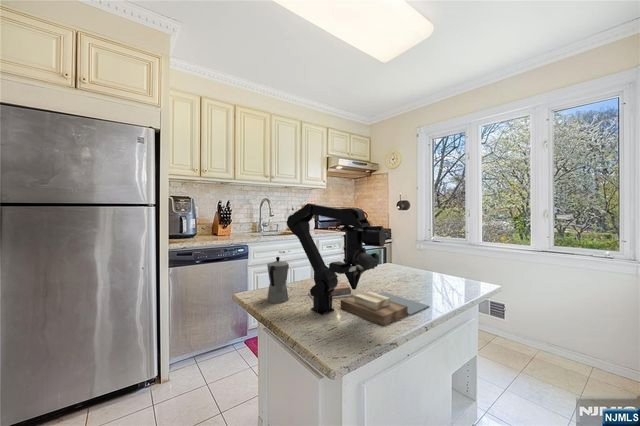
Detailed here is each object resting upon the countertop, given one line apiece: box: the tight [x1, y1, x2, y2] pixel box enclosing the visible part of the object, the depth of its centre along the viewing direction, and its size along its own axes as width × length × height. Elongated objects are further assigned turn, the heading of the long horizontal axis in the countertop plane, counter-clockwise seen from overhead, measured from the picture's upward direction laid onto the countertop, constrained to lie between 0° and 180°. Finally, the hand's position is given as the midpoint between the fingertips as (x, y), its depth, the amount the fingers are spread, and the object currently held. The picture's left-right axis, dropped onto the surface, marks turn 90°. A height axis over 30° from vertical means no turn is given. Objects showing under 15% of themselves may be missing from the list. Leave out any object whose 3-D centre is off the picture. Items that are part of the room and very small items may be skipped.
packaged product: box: [307, 282, 354, 300], centre depth 116 cm, size 18×5×10 cm
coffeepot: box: [266, 256, 290, 304], centre depth 109 cm, size 15×9×18 cm, turn 172°
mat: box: [377, 291, 430, 317], centre depth 106 cm, size 13×22×1 cm, turn 39°
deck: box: [340, 295, 409, 327], centre depth 97 cm, size 14×20×3 cm
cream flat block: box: [354, 291, 390, 310], centre depth 97 cm, size 8×10×2 cm
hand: (353, 289), depth 91 cm, fingers closed
